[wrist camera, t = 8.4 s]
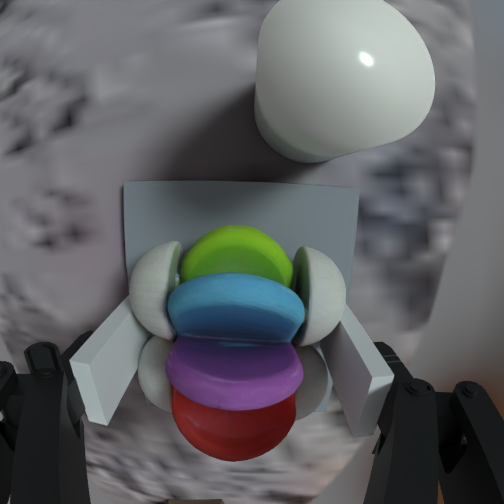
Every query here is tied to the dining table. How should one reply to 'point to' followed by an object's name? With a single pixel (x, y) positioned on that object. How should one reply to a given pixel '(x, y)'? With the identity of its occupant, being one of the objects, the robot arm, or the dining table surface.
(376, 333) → the dining table surface
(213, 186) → the felt mat
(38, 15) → the dining table surface
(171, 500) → the walnut block
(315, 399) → the rainbow wheeled toy
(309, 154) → the white glossy rounded part
